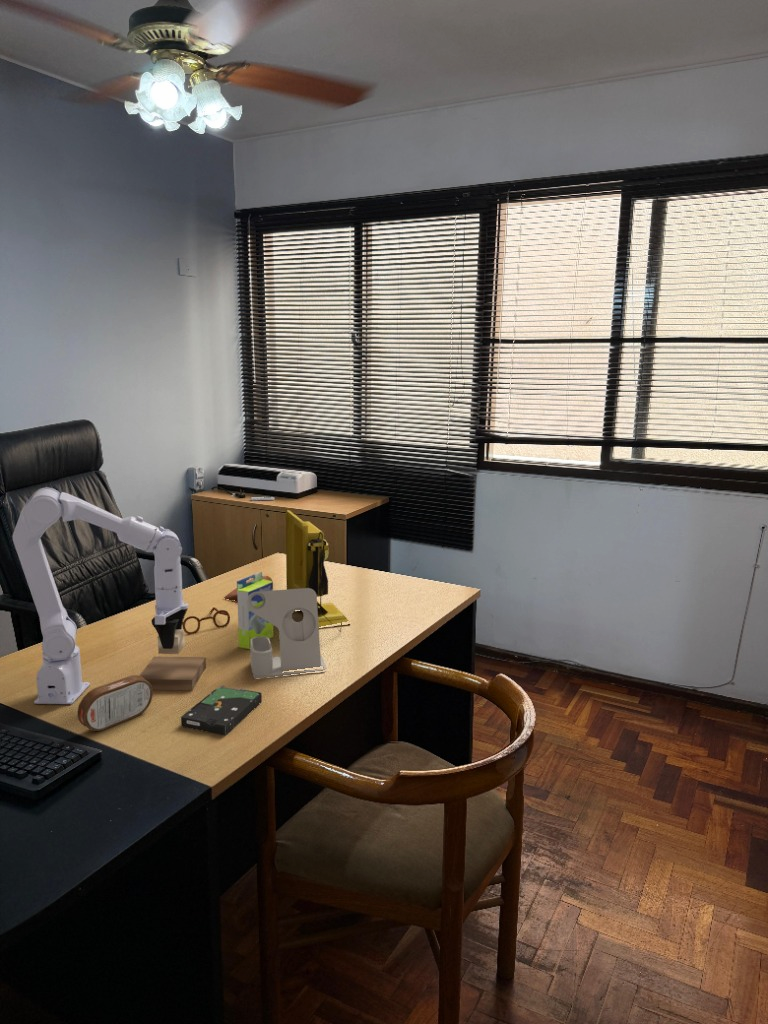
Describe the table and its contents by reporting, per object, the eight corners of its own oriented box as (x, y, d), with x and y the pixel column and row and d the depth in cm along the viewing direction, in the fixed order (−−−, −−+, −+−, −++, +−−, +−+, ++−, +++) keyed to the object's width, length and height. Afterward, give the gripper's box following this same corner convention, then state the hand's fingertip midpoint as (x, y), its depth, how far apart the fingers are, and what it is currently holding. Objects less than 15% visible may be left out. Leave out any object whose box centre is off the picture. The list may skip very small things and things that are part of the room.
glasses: (184, 637, 184) (183, 619, 183) (166, 622, 194) (165, 605, 193) (230, 627, 192) (230, 609, 191) (211, 613, 202) (211, 596, 201)
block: (178, 654, 156) (177, 637, 155) (158, 653, 156) (157, 636, 155) (184, 646, 160) (183, 629, 159) (165, 645, 160) (164, 629, 159)
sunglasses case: (249, 582, 229) (258, 566, 227) (266, 595, 228) (275, 579, 226) (220, 600, 212) (230, 583, 210) (239, 613, 211) (248, 596, 209)
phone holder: (252, 679, 159) (250, 604, 156) (248, 661, 169) (246, 590, 165) (327, 672, 164) (327, 598, 160) (319, 655, 173) (319, 585, 170)
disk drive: (227, 738, 136) (262, 703, 149) (226, 725, 135) (262, 691, 149) (180, 729, 139) (219, 695, 152) (179, 716, 138) (219, 684, 152)
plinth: (192, 690, 154) (192, 679, 153) (137, 689, 154) (136, 678, 153) (206, 667, 165) (205, 657, 165) (154, 666, 165) (154, 656, 165)
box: (249, 650, 176) (248, 584, 172) (236, 647, 177) (234, 581, 174) (275, 636, 185) (274, 573, 181) (262, 633, 187) (261, 570, 183)
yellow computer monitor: (362, 637, 185) (364, 526, 179) (311, 644, 180) (311, 530, 174) (327, 600, 214) (327, 503, 207) (282, 605, 208) (281, 506, 202)
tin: (147, 706, 147) (145, 668, 145) (156, 710, 145) (154, 672, 143) (77, 734, 135) (74, 693, 133) (86, 739, 133) (83, 698, 131)
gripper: (177, 596, 148) (180, 657, 151) (195, 576, 162) (197, 631, 165) (143, 596, 148) (147, 656, 151) (164, 575, 162) (167, 631, 165)
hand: (171, 643), depth 158 cm, fingers closed on block, 4 cm apart
